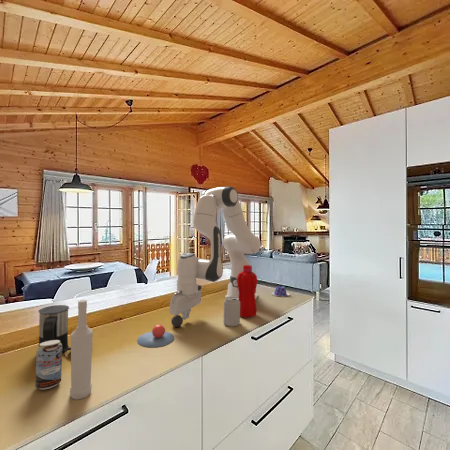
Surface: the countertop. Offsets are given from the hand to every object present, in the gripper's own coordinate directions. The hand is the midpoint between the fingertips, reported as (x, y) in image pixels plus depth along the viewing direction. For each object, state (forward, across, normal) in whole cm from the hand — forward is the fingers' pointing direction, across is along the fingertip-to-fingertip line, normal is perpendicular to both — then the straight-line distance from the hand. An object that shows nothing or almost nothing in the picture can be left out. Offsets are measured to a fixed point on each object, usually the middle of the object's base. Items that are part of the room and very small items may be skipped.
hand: (185, 318), depth 123 cm
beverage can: (+2, -57, +6) cm, 57 cm away
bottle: (+2, -55, -5) cm, 55 cm away
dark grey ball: (-1, -6, 0) cm, 6 cm away
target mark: (+2, -20, 0) cm, 20 cm away
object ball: (-1, -18, 0) cm, 19 cm away
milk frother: (+2, -43, +21) cm, 48 cm away
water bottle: (+2, +23, -21) cm, 31 cm away
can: (+2, +9, -19) cm, 21 cm away
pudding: (+2, +70, -25) cm, 74 cm away
